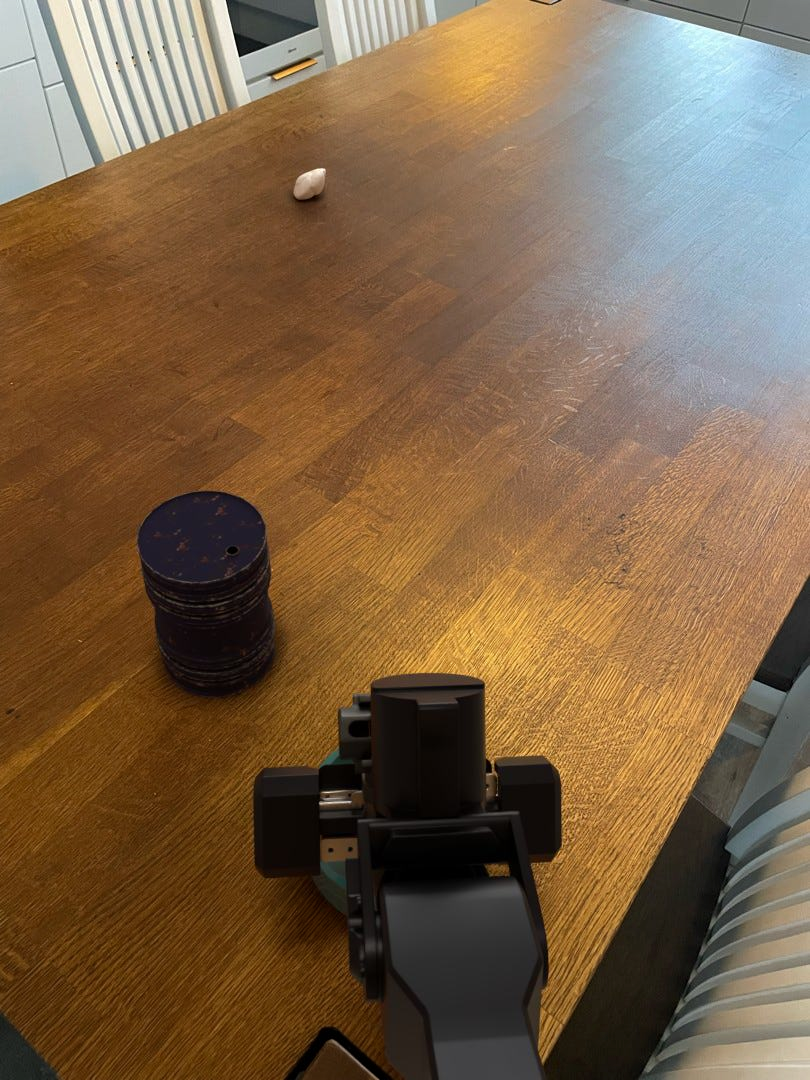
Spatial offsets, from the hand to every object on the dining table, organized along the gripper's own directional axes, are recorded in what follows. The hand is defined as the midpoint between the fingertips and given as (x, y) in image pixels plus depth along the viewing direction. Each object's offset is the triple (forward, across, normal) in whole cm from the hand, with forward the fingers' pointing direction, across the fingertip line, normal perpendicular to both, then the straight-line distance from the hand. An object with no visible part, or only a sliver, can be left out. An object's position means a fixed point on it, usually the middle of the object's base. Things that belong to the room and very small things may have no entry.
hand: (395, 775), depth 63 cm
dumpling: (+78, +5, -68) cm, 104 cm away
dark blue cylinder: (+17, +14, -6) cm, 23 cm away
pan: (+4, 0, +6) cm, 7 cm away
